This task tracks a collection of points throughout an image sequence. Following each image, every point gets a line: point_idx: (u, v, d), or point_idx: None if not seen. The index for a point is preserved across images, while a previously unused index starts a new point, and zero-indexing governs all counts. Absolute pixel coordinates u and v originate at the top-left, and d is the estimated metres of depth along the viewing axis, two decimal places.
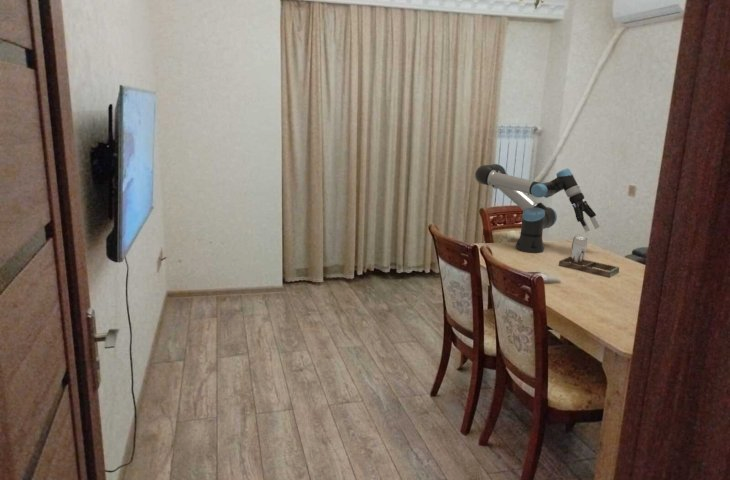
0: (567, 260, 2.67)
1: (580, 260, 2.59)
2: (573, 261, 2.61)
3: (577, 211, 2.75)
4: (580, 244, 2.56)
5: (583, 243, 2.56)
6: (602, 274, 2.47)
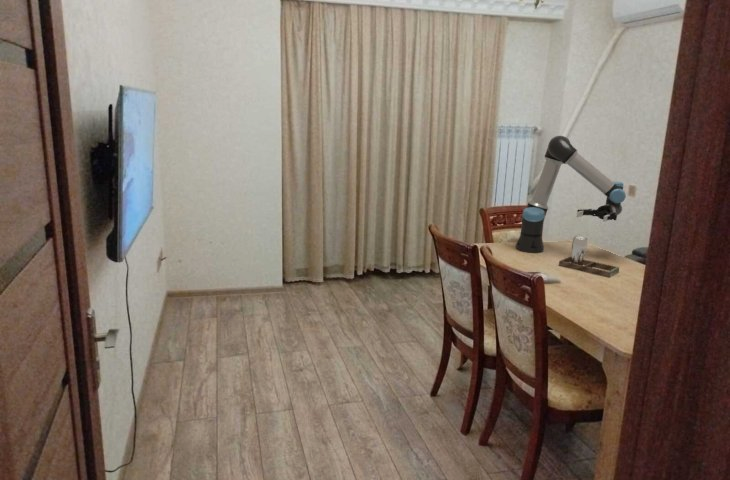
0: (567, 260, 2.67)
1: (580, 260, 2.59)
2: (573, 261, 2.61)
3: None
4: (580, 244, 2.56)
5: (583, 243, 2.56)
6: (602, 274, 2.47)
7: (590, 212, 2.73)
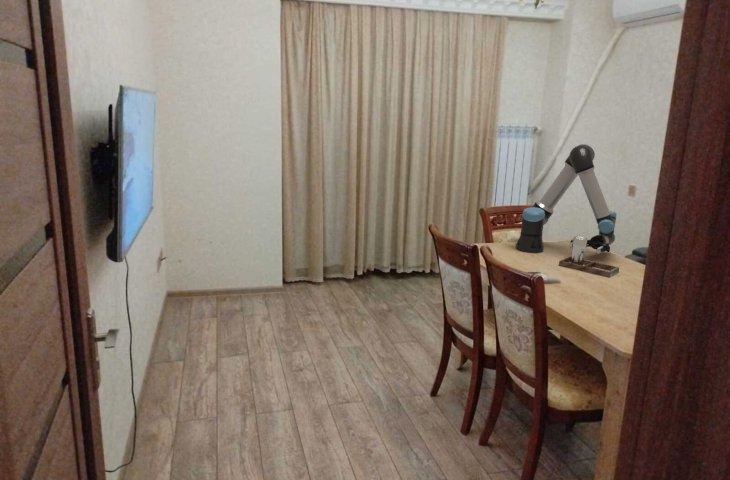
0: (567, 260, 2.67)
1: (580, 260, 2.59)
2: (573, 261, 2.61)
3: None
4: (580, 244, 2.56)
5: (583, 243, 2.56)
6: (602, 274, 2.47)
7: None
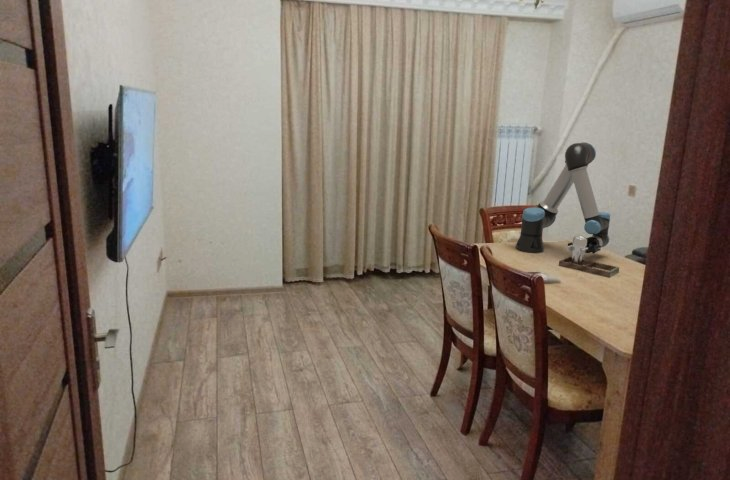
0: (567, 260, 2.67)
1: (580, 260, 2.59)
2: (573, 261, 2.61)
3: (597, 250, 2.61)
4: (580, 244, 2.56)
5: (583, 243, 2.56)
6: (602, 274, 2.47)
7: None
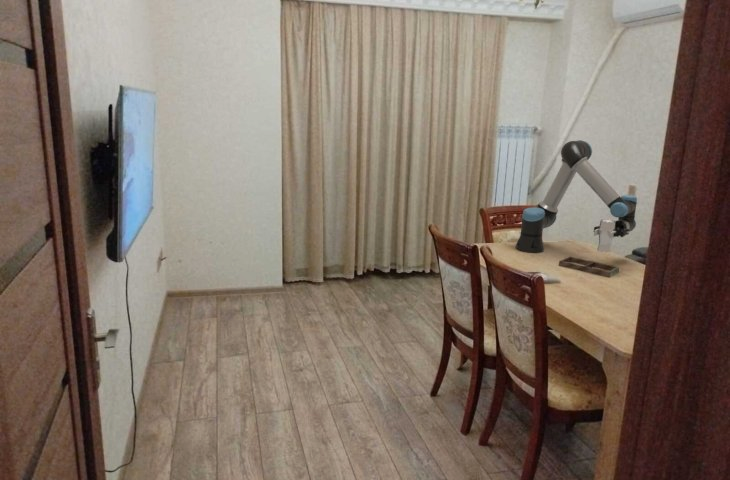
0: (567, 260, 2.67)
1: (608, 244, 2.48)
2: (600, 245, 2.50)
3: (625, 233, 2.50)
4: (608, 227, 2.45)
5: (611, 226, 2.45)
6: (602, 274, 2.47)
7: None
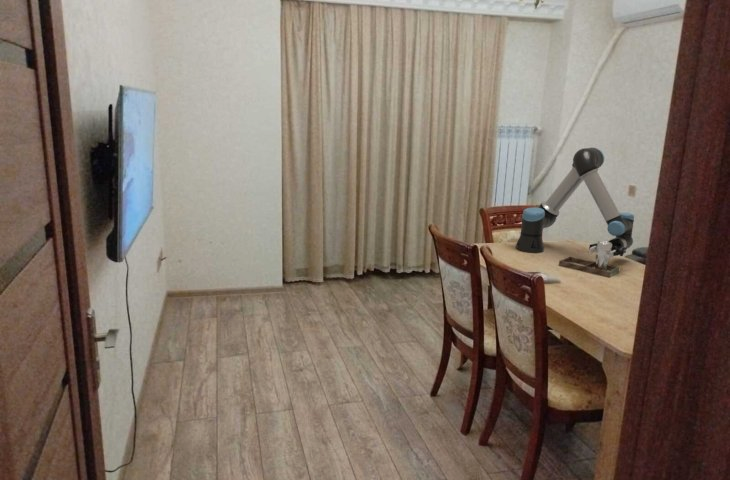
0: (567, 260, 2.67)
1: (604, 265, 2.51)
2: (597, 266, 2.53)
3: (623, 252, 2.52)
4: (605, 249, 2.48)
5: (608, 248, 2.48)
6: (602, 274, 2.47)
7: None
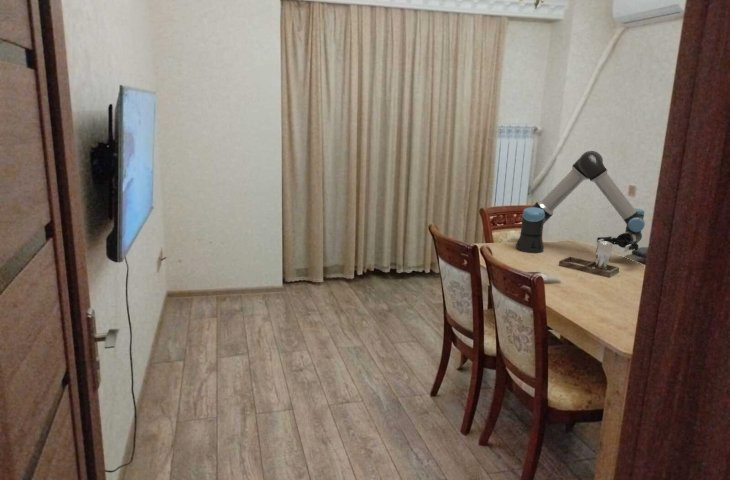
0: (567, 260, 2.67)
1: (604, 265, 2.51)
2: (597, 266, 2.53)
3: None
4: (605, 249, 2.48)
5: (608, 248, 2.48)
6: (602, 274, 2.47)
7: (610, 240, 2.69)
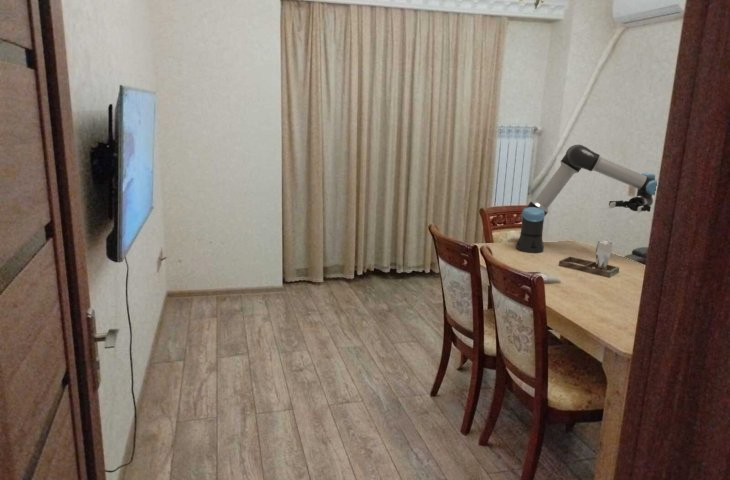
0: (567, 260, 2.67)
1: (604, 265, 2.51)
2: (597, 266, 2.53)
3: None
4: (605, 249, 2.48)
5: (608, 248, 2.48)
6: (602, 274, 2.47)
7: (622, 203, 2.72)
